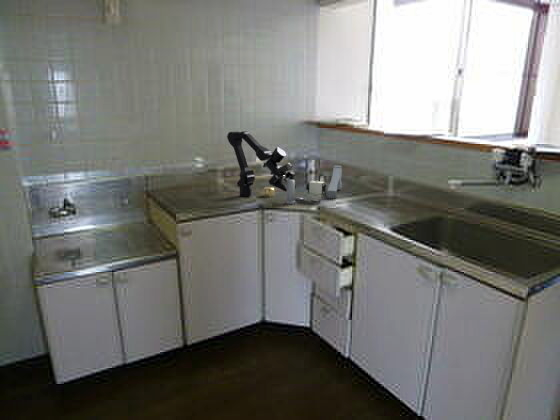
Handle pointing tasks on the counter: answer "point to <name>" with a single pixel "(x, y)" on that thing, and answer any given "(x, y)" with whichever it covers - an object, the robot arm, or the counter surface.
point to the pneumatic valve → (317, 189)
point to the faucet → (335, 182)
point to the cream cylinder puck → (268, 191)
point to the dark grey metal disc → (299, 198)
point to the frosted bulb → (290, 192)
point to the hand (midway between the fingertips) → (291, 189)
